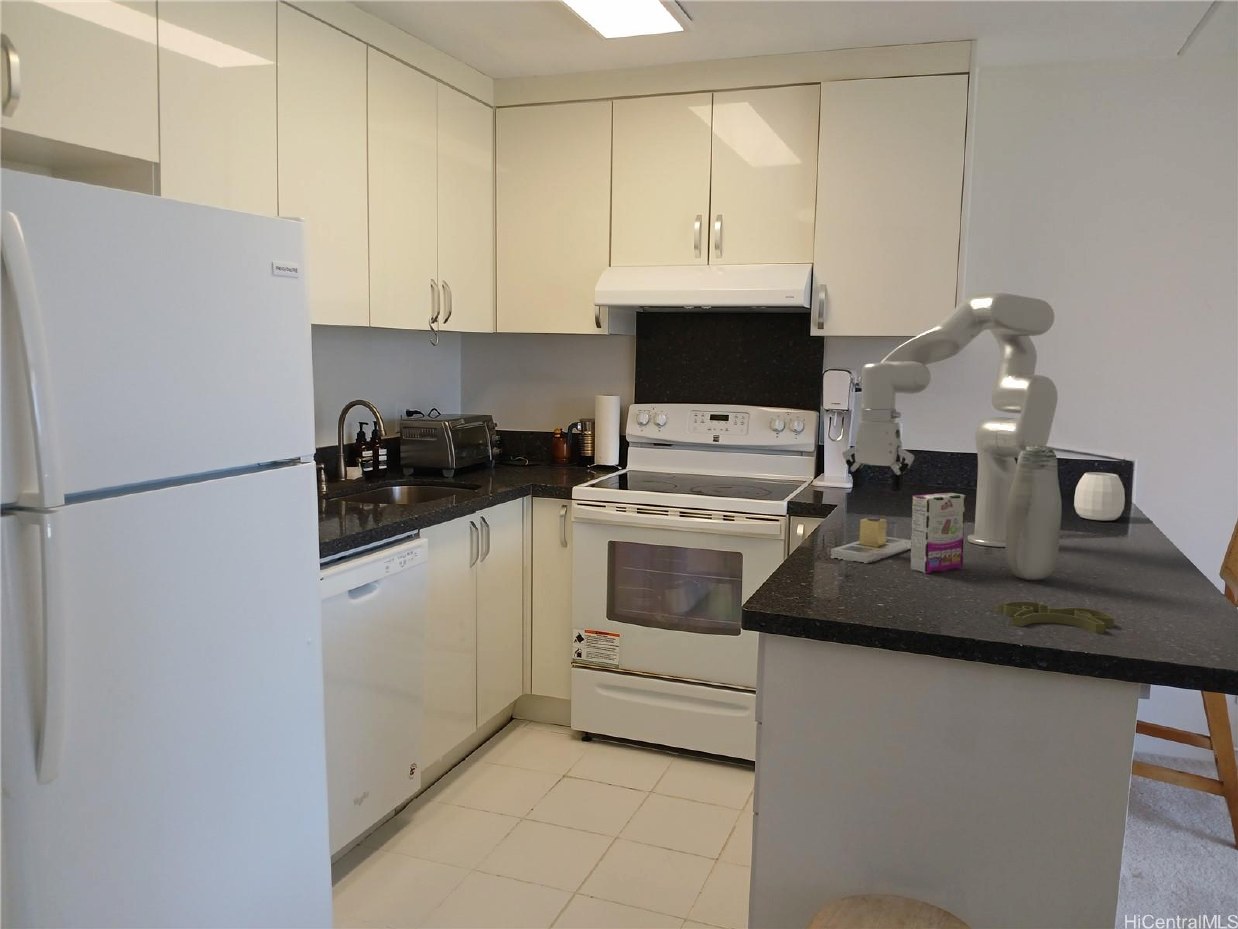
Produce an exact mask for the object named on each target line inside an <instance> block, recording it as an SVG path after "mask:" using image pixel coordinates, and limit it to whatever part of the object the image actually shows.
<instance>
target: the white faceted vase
mask: <svg viewBox="0 0 1238 929" xmlns="http://www.w3.org/2000/svg"><path fill="white" fill-rule="evenodd" d="M1125 497H1126V496H1125V487H1124V485H1123V482H1122V481H1121V478H1120V477H1119V474H1115V473H1107V472H1085V473H1084V474H1083V475H1082V477H1081V478H1080V479H1079V481H1078V483H1077V485H1076V487H1075V493H1074V501H1073V502H1074V503H1073V506H1074V509H1075V513H1076V514H1078V516H1079V517H1080V518H1083V519H1086V520H1089V521H1097V522H1107V521H1115V520H1117V519H1118V518H1119V517H1120V516H1121V515H1122V513H1123V511H1124V509H1125V501H1126V498H1125Z"/></svg>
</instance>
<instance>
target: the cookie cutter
mask: <svg viewBox="0 0 1238 929" xmlns="http://www.w3.org/2000/svg"><path fill="white" fill-rule="evenodd" d="M996 606H997V607H996V608H997V609H996V612H997V613H999V614H1002V613H1004V614H1005V616H1008V617H1013V621H1012V625H1013V626H1016V627H1022V626H1023V627H1025V626H1027V625H1030V624H1036V623H1039V624H1040V623H1052V624H1060V625H1061V624H1062V625H1069V626H1073V627H1077V628H1082V629H1085V630H1088V631H1089V632H1092V633H1095V634H1105V629H1106V628H1112V629H1113V628H1114V624H1115V623H1114V622H1115V618H1114V617H1113V616H1112V615H1110V614H1108V613H1106V612H1104V611H1100V610H1095V609H1091V608H1085V607H1063V608H1061V607H1060V608H1051V606H1050V605H1045V604H1042V603H1041V602H1037V601H1026V600H1024V601H1023V600H1021V601H1019V600H1017V601H1015V600H1013V601H1008V602H997V605H996ZM1034 612H1035V613H1034ZM1004 614H1003V615H1004Z"/></svg>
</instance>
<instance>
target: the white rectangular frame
mask: <svg viewBox="0 0 1238 929" xmlns="http://www.w3.org/2000/svg"><path fill="white" fill-rule="evenodd" d="M859 542H860V540H858V541H854V542H850V543H848V544H844V545H841V546H840V545H839V546H838V547H833V548H831V549H830V559H834V558H838V559H837V560H840V559H843V560H842V561H846V562H847V561H848V562H853V561H859V562H864V563H863V564H866V563H868V564H870V563H869V562H871V563H873V562H872V561H874V562H876V561H879V560H881V558H882V559H885V558H888V557H891V556H894V555H897V554H899V553H902V552H905V551H908V550H911V539H904V538H902V539H901V538H897V537H889V536H886V546H884V547H881V548H874V547H867V546H860V545H859ZM859 562H858V563H859Z"/></svg>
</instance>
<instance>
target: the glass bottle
mask: <svg viewBox="0 0 1238 929" xmlns="http://www.w3.org/2000/svg"><path fill="white" fill-rule="evenodd" d="M1016 464H1017V468H1016V473H1015V478H1014V481H1013V484H1012V487H1011V490H1010V494H1009V498H1008V503H1007V517H1006V543H1005V547H1004V548H1005V550H1004V553H1005V561H1006V564H1007V567H1008V569H1009V570H1010V572H1011V573H1012V574H1013V575H1014V576H1016V577H1018V578H1020V579H1023V580H1027V581H1038V580H1042V579H1045V578H1047V577H1048V576H1050V574H1052V573H1053V571H1054V570H1055V568H1056V565H1057V562H1058V558H1059V549H1060V548H1059V547H1060V533H1061V524H1062V513H1063V512H1062V508H1063V506H1062V505H1063V504H1062V496H1061V495H1062V494H1061V490H1060V489H1061V488H1060V484H1059V477H1058V474H1059V473H1058V457H1057V455H1056V452H1055V451H1054V450H1053V449H1052V448H1051V447H1049V446H1047V445H1046V446H1043V445H1031V446H1028V447H1026V448H1024V449H1023V450H1022V451H1021V453H1020V454H1019V457H1018V458H1017V461H1016Z"/></svg>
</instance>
